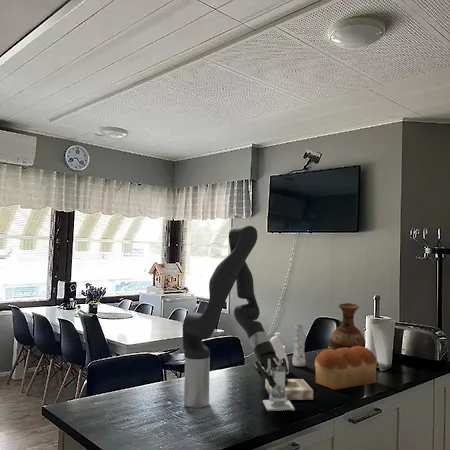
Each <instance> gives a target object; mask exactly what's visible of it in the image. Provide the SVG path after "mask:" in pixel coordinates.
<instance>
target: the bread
mask: <svg viewBox="0 0 450 450" xmlns="http://www.w3.org/2000/svg"><path fill="white" fill-rule="evenodd" d="M377 366H378V364H377V357H376V356H375V354H374V353H373V351H372V350H370V349H369V348H367V347H366V348H365V347H361V346H354V347H351V348H347V347H346V348H338V349H336V350H333V349H329V348H328V349H323V350H322V351H319V353H318V354H317V356H316V357H315V360H314V367H315V384H319V385H321V386H324V387H326V388H328V389H331V390H340V389H342V390H343V389H348V388H352V387H358V386H365V385H370V384H376V383H377Z"/></svg>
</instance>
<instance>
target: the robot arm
mask: <svg viewBox="0 0 450 450" xmlns="http://www.w3.org/2000/svg"><path fill="white" fill-rule="evenodd" d="M257 240H258V230H257V228H256V227H254V226H253V225H241V226H239V225H238V226H233V227H232V228H230V230H229V232H228V243H229V247H230V252H231V253H229V254H228V255H227V256H226V257H225V258H224V259H223V260H221V261H220V263H219V264H217V266H216V268H215V269H214V271H213V273H212V275H211V277H210V279H209V282H208V283H209V284H208V292H209V297H208V298H209V299H208V303H207V305H206V307H205V309H204V311H203V313H201V312H195V311H194V312H190V313H188V314H186V315H185V317H184V319H183V321H182V346H183V351H184V384H183V388H184V389H183V391H184V393H183V395H184V396H183V407H187V408H194V409H195V408H196V409H200V408H206V407H207V406H209V405H210V374H211V373H210V364H211V363H210V362H211V355H210V354H211V351H210V350H211V349H210V348H209V347H208V346H207V345H206V344H204V342H203V340H208V339H210V338H211V336H212V335H213V334H214V331H216V327H217V324H218V322H219V319H220V316H221V313H222V311H223V308H224V306H225V304H226V301H227V299H228V297H229V295H230V293H231V291H232V289H233V287H234V285H235V282H236V294H237V298H239V299H241V300H246V301H247V303H245V304H238V305H236V306H235V307H234V310H233V315H234V318H235V320H236V322H237V323H238V324H239V326H240V327H241V328H242V329H243V330H244V332H245V333H246V335H247V337H248V340H249V342H250V345H251V347H252V350H253V353H254V355H255V356H256V361H255V363H254V364H253V368H254V369H255V372H257V374H258V375H259V376H260V378H261V379H267V380H268V383H269V385H270V386H271V387H272V388H274V387H275V386H276V384H275V382H274V380H273V377H272V375H271V370H272V366H284V367H285V386H286V385H287V384H288V380H287V379H288V378H287V374H286V373H287V372H288V368H287V364H286V360H285V358H283V359H279V358H278V357H277V356H276V353H275V350H274V348H273V346H272V344H271V342H270V339H271V338H270V337H269V336H268V334H267V333H266V330H265V328H264V327H263V325H262V323H261V322H260V321H258V319H259V318H260V308H259V305H258V302H257V298H256V294H255V290H254V289H255V287H254V276H253V273H252V272H251V269H250V268H249V266H248V264H247V261H246V260H247V258H249V256H250V254H251V252H252V250H253V249H254V247H255V246H256V244H257ZM279 363H280V364H279ZM262 367H263V368H264V369H263V368H262Z"/></svg>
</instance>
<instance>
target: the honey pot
mask: <svg viewBox="0 0 450 450" xmlns="http://www.w3.org/2000/svg"><path fill="white" fill-rule="evenodd" d="M280 335H281V332H274V336H272V337H271V338H269V339H270V342H271V344H272V346H273V348H274V350H275V353H276V356H277V357H278V358H279V359H283V358H285V360H286V364H287V368H288V372H287V373H286V375H288V374H289V373H290V372H289V366H290V365H289V363H290V362H289V359H288V356H287V353H286V346H285V345H284V344H283V343H282V341H281V340H280V338H279V337H280ZM279 364H280V363H279ZM262 368H263V367H262ZM263 369H264V368H263ZM271 376H272V370H271Z"/></svg>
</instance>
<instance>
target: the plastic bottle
mask: <svg viewBox="0 0 450 450" xmlns="http://www.w3.org/2000/svg"><path fill="white" fill-rule="evenodd" d="M294 329H295V331H294V333H293V334H292V342H293V354H292V359H291V362H292V365H293V366H295V367H299V368H300V367H304V366H306V355H305V350H306V349H305V345H306V338H307V337H306V334H305V332H304V326H303V325H300V324H299V325H296V324H295V328H294Z"/></svg>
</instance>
